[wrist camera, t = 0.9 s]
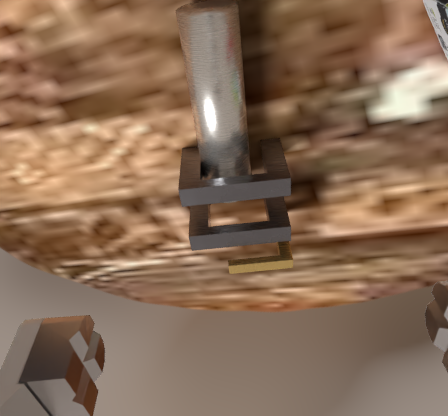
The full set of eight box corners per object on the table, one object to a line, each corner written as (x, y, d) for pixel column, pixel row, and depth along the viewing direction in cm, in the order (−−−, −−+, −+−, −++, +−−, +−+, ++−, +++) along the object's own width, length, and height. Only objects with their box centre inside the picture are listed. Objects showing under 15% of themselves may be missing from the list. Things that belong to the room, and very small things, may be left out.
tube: (186, 0, 35) (166, 17, 31) (244, -3, 33) (230, 14, 30) (212, 173, 46) (199, 201, 42) (256, 175, 45) (247, 204, 41)
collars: (182, 148, 43) (177, 199, 36) (279, 137, 43) (293, 187, 36) (196, 222, 50) (195, 276, 43) (281, 213, 49) (292, 267, 43)
